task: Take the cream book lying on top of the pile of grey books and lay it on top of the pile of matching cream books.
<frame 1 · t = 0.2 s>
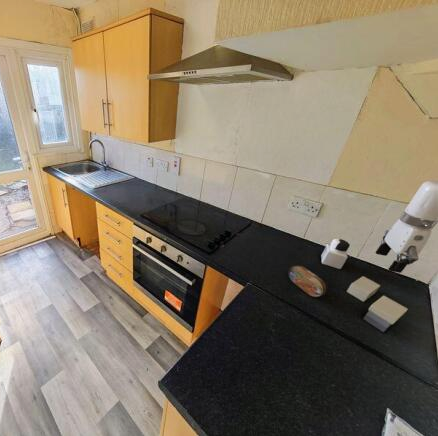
hand: (387, 262, 79), 23 cm above the table, tool pointing down, fingers open, 9 cm apart
container: (330, 262, 114), on the table
tin: (302, 287, 99), on the table
grey pile: (378, 320, 85), on the table
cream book: (385, 311, 83), point 5 cm above the table, touching grey pile
cream pile: (360, 292, 97), on the table
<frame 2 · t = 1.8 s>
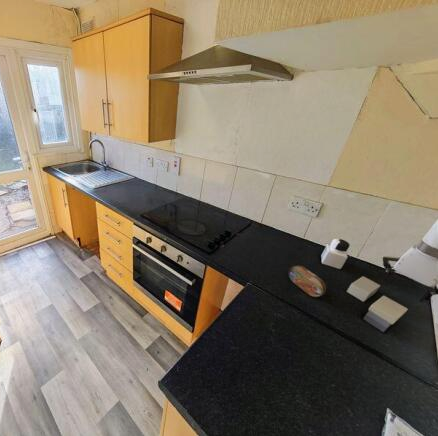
hand: (402, 289, 78), 16 cm above the table, tool pointing down, fingers open, 9 cm apart
nothing on the table moved.
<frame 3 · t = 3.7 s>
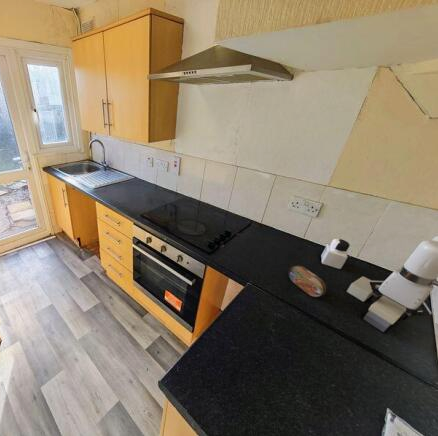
hand: (386, 311, 83), 5 cm above the table, tool pointing down, fingers closed on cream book, 7 cm apart
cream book: (385, 311, 83), point 5 cm above the table, touching grey pile, gripper
everything else where it was.
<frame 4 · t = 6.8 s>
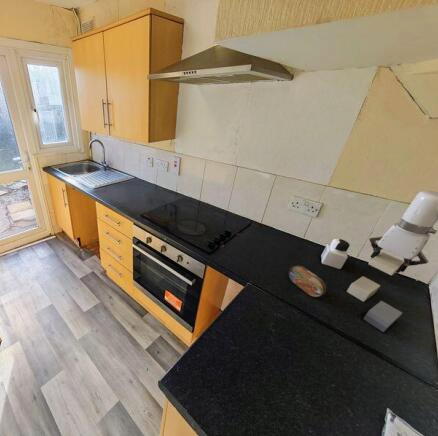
hand: (385, 265, 87), 17 cm above the table, tool pointing down, fingers closed on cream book, 7 cm apart
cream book: (385, 265, 87), point 17 cm above the table, touching gripper
everything else where it was.
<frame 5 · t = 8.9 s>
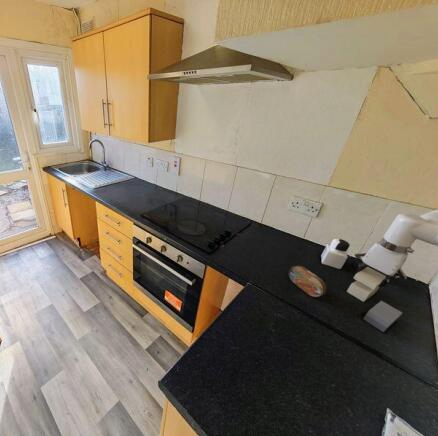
hand: (369, 279, 93), 7 cm above the table, tool pointing down, fingers closed on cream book, 7 cm apart
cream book: (368, 280, 94), point 7 cm above the table, touching gripper
everything else where it was.
when the fingers open (5 cm above the table, at t = 10.2 s): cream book stays where it is, resting on cream pile.
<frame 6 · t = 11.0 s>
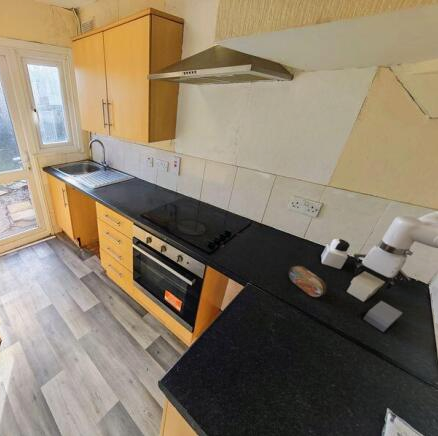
hand: (370, 281, 94), 7 cm above the table, tool pointing down, fingers open, 9 cm apart
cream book: (366, 284, 95), point 5 cm above the table, touching cream pile
everything else where it was.
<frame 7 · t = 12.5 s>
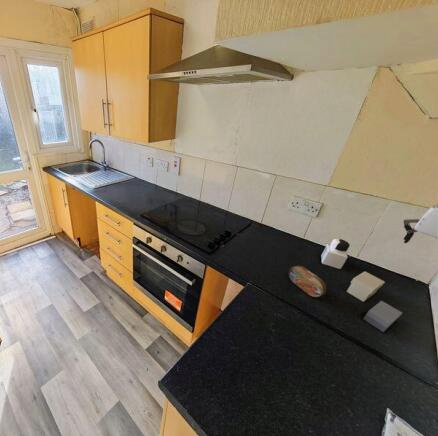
hand: (423, 248, 85), 24 cm above the table, tool pointing down, fingers open, 9 cm apart
nothing on the table moved.
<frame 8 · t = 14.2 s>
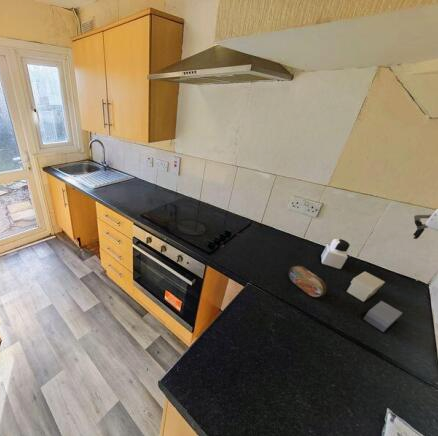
hand: (433, 244, 84), 26 cm above the table, tool pointing down, fingers open, 9 cm apart
nothing on the table moved.
at the end: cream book 0.0 cm from the target spot, point 4.8 cm above the table; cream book tilted 0°; the gripper is holding nothing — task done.
